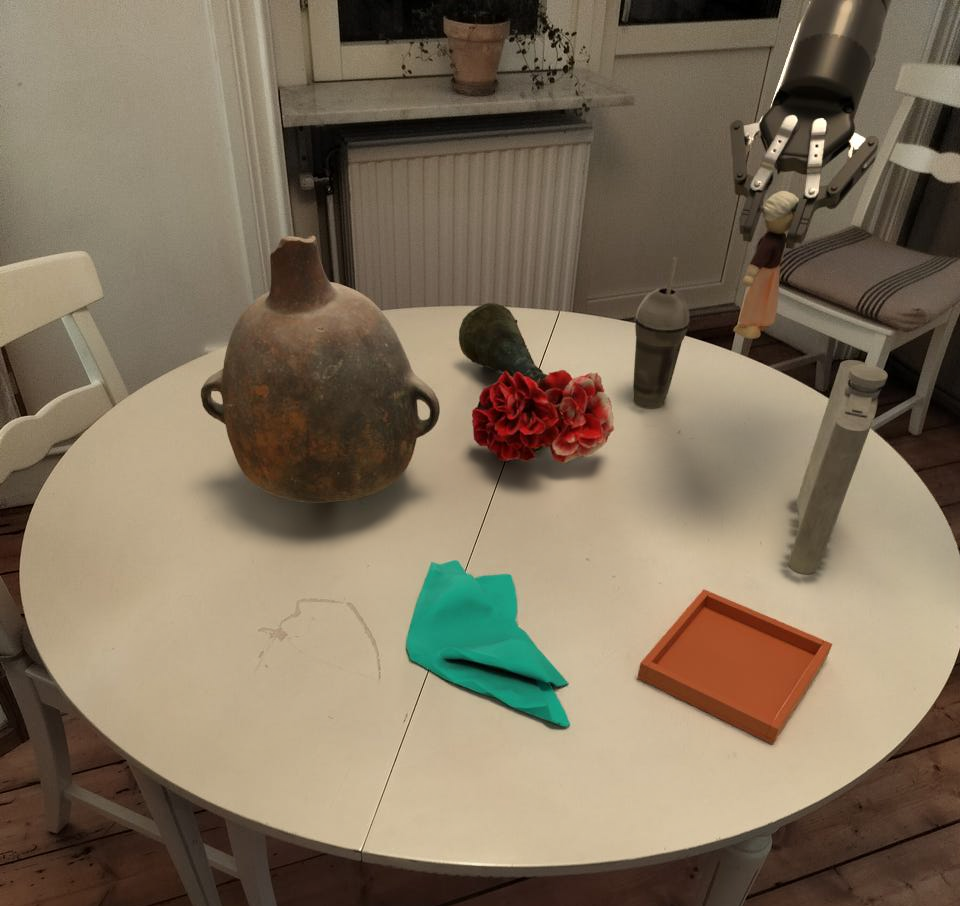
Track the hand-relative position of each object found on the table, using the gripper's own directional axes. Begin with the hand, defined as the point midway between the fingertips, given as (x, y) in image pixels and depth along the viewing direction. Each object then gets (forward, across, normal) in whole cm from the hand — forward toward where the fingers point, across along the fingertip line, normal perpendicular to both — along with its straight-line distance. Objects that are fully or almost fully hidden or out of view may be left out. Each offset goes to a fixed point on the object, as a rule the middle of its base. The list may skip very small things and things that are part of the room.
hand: (768, 239), depth 79 cm
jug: (+33, -42, +11) cm, 55 cm away
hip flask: (+20, +12, +25) cm, 34 cm away
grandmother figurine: (+5, 0, +8) cm, 9 cm away
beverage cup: (+5, -15, +40) cm, 43 cm away
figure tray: (+38, +9, +6) cm, 40 cm away
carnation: (+14, -30, +30) cm, 45 cm away
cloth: (+44, -15, 0) cm, 46 cm away
